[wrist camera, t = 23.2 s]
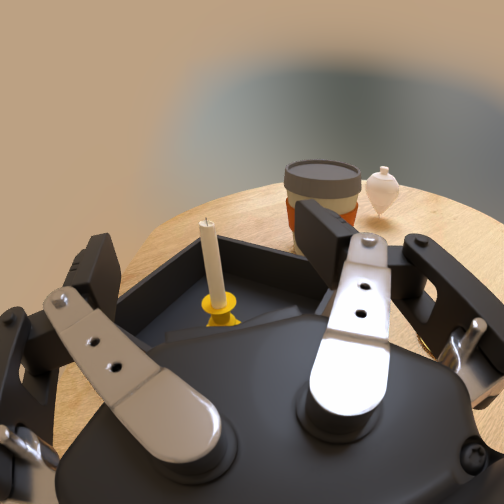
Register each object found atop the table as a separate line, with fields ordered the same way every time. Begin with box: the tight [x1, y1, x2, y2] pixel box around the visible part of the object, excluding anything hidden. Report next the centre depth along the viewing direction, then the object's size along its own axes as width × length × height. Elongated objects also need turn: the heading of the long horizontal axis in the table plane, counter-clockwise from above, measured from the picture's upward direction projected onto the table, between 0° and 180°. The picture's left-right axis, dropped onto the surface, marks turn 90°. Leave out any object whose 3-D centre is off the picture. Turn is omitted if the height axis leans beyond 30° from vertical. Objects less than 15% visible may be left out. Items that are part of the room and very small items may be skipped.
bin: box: [114, 235, 337, 353], centre depth 34 cm, size 22×22×7 cm
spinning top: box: [366, 166, 399, 218], centre depth 59 cm, size 8×8×12 cm
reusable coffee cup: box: [284, 159, 361, 256], centre depth 48 cm, size 12×13×15 cm
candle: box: [199, 217, 241, 326], centre depth 31 cm, size 5×5×16 cm
